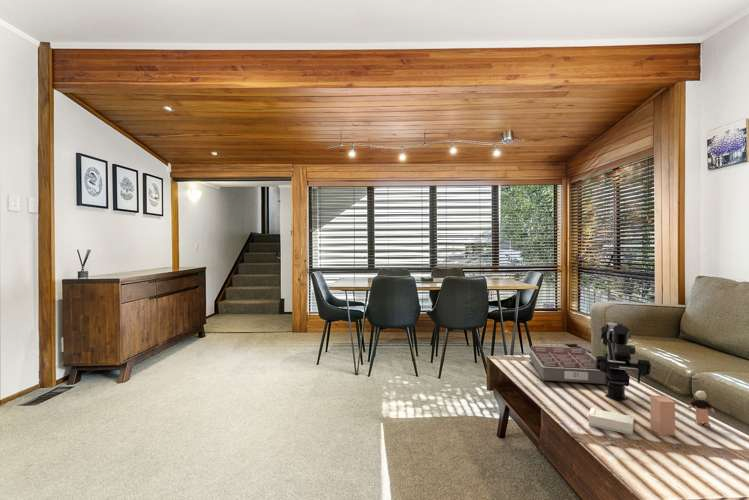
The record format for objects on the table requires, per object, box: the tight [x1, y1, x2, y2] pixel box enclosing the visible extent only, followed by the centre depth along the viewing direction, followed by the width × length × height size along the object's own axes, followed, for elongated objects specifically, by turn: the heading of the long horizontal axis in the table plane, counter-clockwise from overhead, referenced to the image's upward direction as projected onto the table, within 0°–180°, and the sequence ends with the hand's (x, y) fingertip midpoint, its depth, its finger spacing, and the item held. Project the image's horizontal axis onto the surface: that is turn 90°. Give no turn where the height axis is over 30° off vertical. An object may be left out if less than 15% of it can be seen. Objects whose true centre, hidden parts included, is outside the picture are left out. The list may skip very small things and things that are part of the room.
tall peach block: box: [649, 394, 676, 437], centre depth 144 cm, size 6×5×12 cm
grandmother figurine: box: [687, 390, 716, 427], centre depth 150 cm, size 8×4×13 cm, turn 71°
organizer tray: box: [528, 345, 607, 385], centre depth 214 cm, size 32×40×10 cm
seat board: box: [588, 407, 635, 436], centre depth 152 cm, size 16×14×4 cm
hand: (625, 380), depth 155 cm, fingers open, 9 cm apart
